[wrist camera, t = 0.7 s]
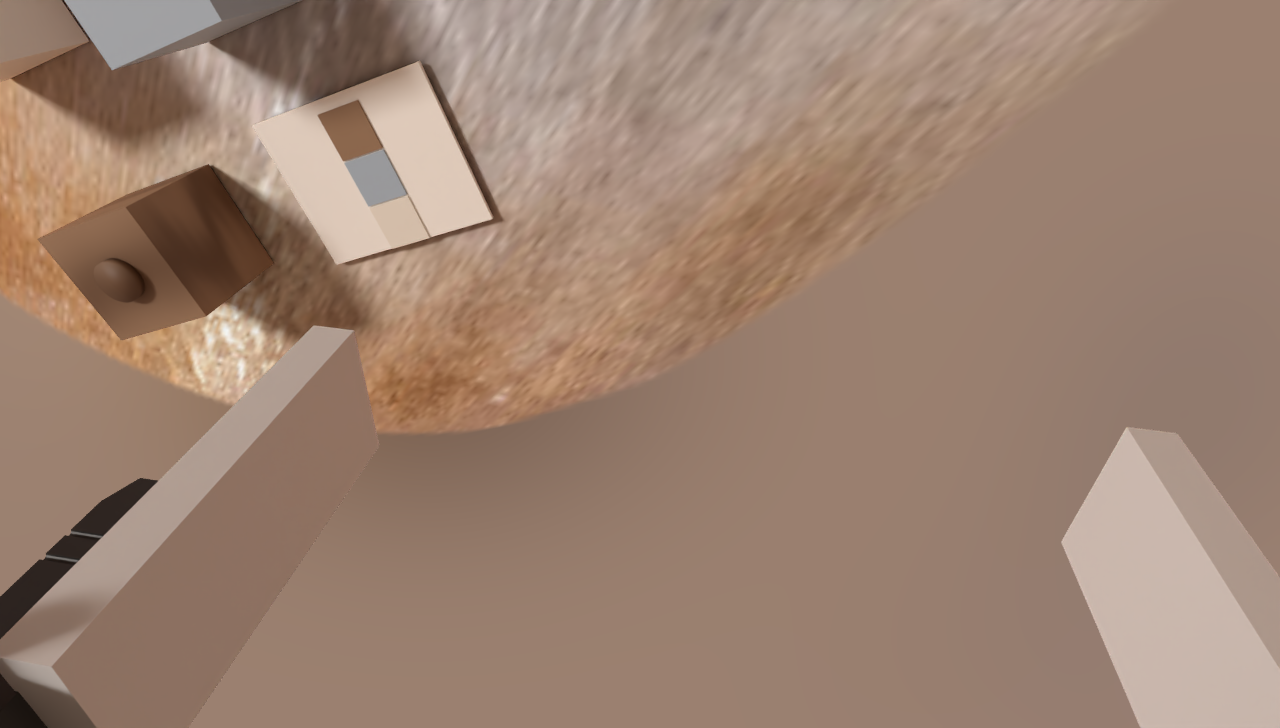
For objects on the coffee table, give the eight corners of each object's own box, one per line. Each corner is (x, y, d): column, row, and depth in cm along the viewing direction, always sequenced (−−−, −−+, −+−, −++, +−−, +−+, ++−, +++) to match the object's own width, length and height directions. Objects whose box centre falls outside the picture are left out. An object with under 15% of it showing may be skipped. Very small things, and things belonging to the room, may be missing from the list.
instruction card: (253, 124, 36) (250, 126, 36) (420, 60, 33) (417, 62, 33) (338, 263, 40) (335, 265, 40) (493, 217, 37) (491, 219, 37)
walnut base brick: (127, 194, 40) (28, 243, 35) (208, 164, 38) (117, 211, 33) (195, 287, 43) (114, 345, 38) (273, 263, 41) (199, 321, 36)
